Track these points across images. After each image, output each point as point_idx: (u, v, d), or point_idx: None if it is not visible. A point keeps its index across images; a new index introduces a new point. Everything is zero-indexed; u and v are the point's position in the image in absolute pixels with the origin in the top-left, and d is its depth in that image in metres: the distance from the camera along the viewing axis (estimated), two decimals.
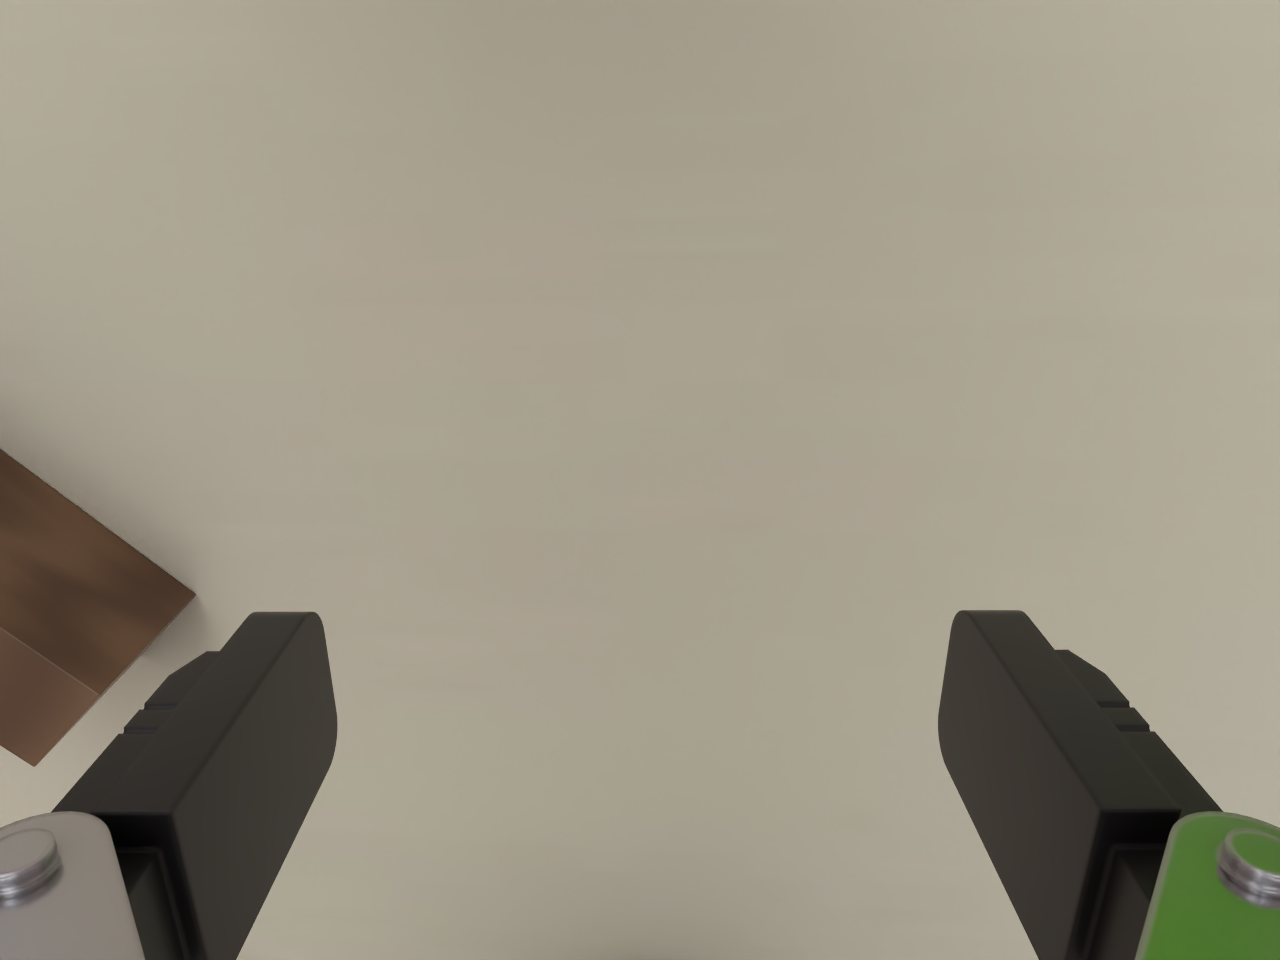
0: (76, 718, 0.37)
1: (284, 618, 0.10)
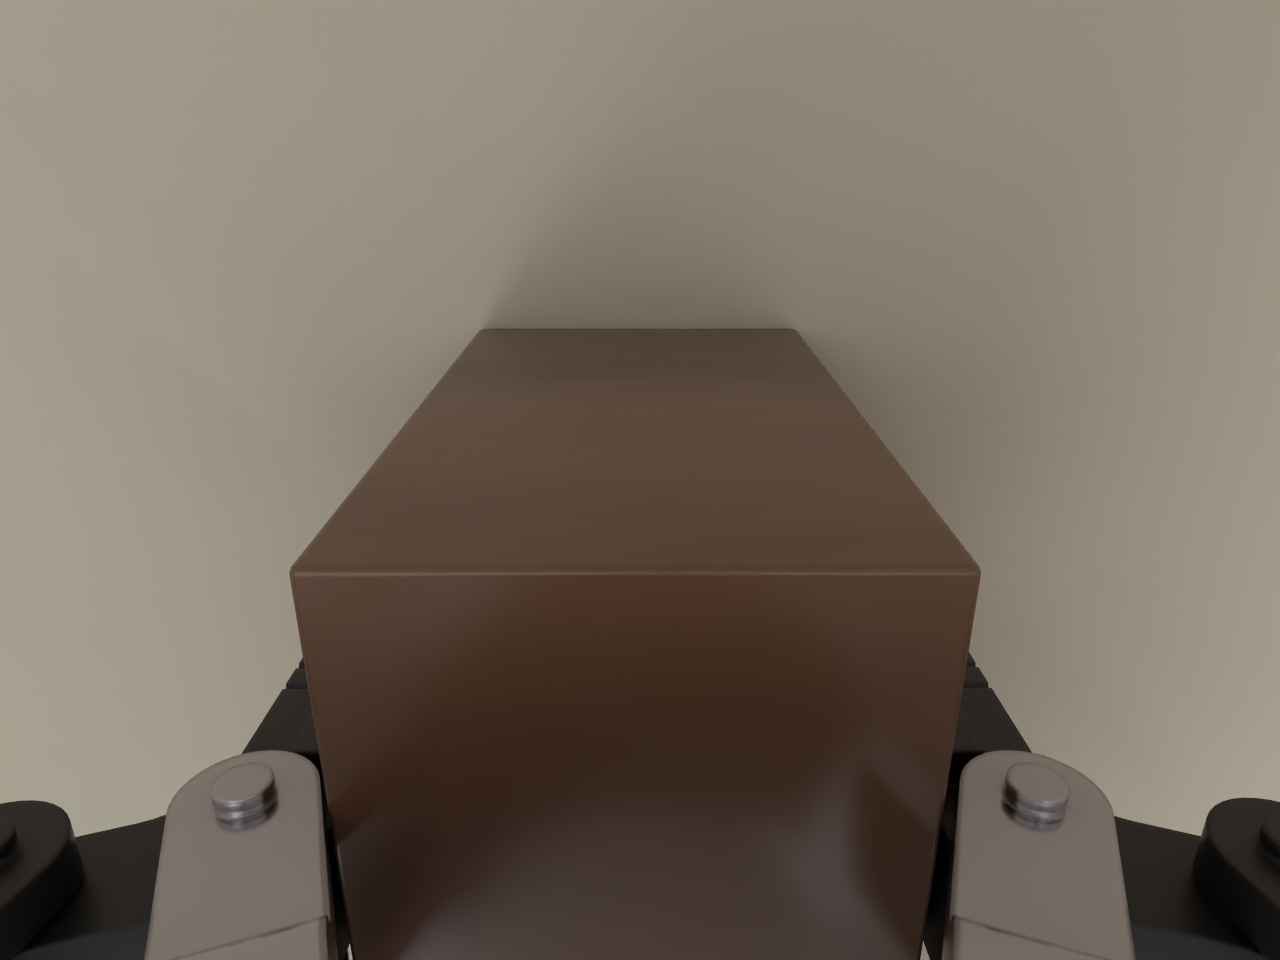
0: (514, 577, 0.07)
1: None
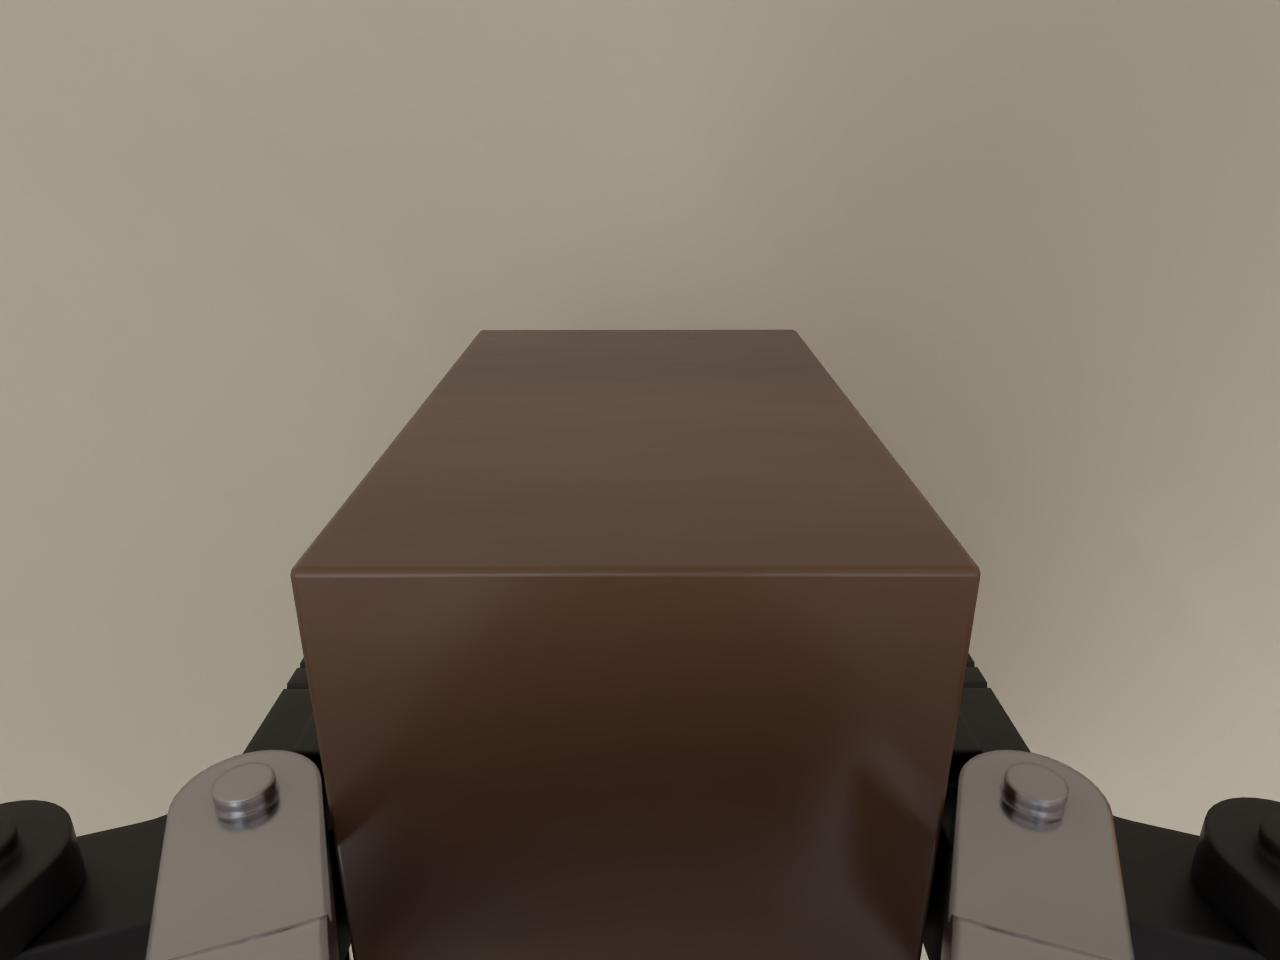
0: (515, 578, 0.07)
1: None
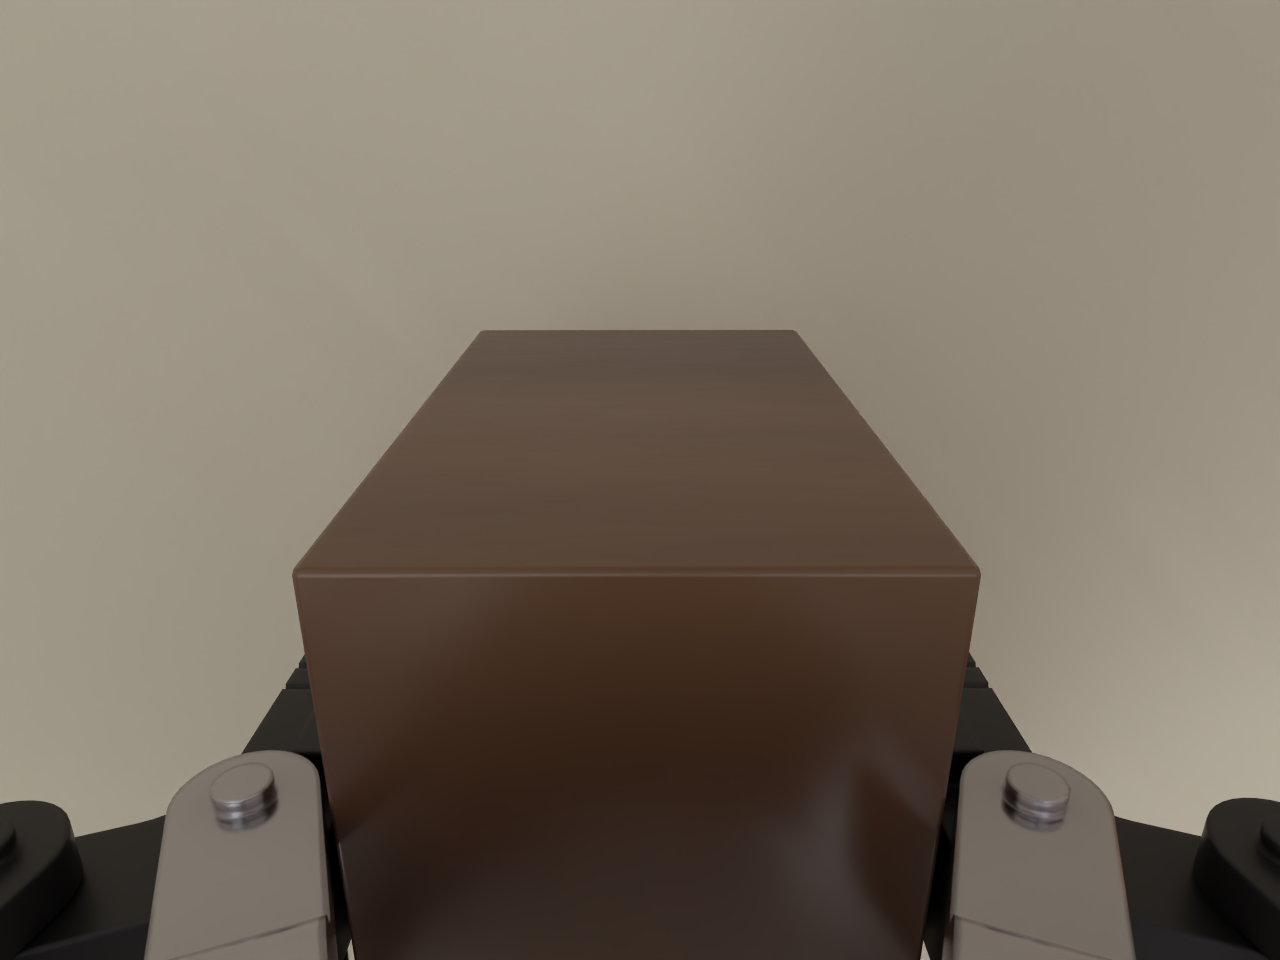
0: (516, 579, 0.07)
1: None
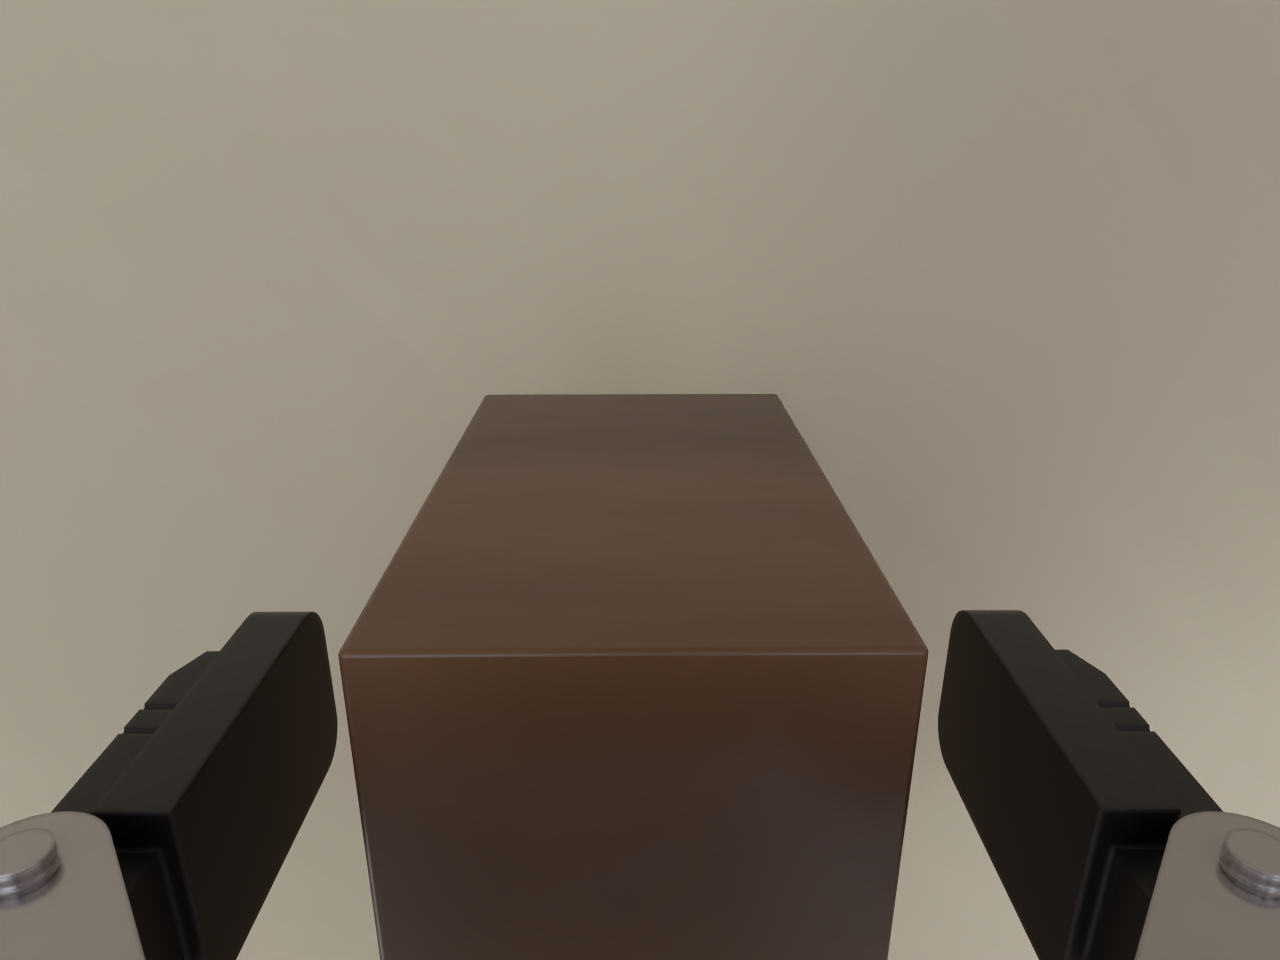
0: (531, 659, 0.08)
1: (284, 618, 0.10)
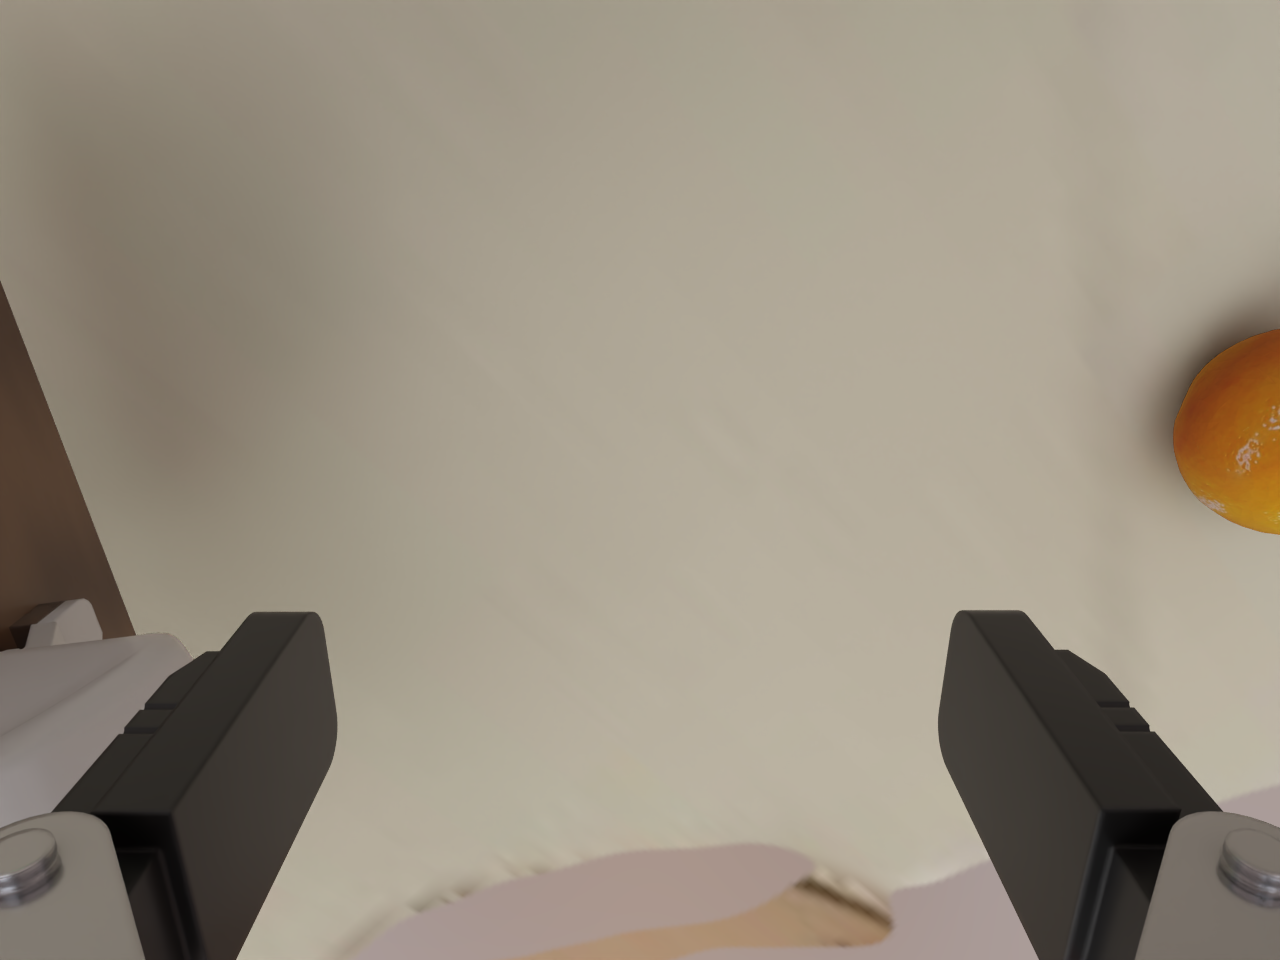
0: None
1: (284, 618, 0.10)
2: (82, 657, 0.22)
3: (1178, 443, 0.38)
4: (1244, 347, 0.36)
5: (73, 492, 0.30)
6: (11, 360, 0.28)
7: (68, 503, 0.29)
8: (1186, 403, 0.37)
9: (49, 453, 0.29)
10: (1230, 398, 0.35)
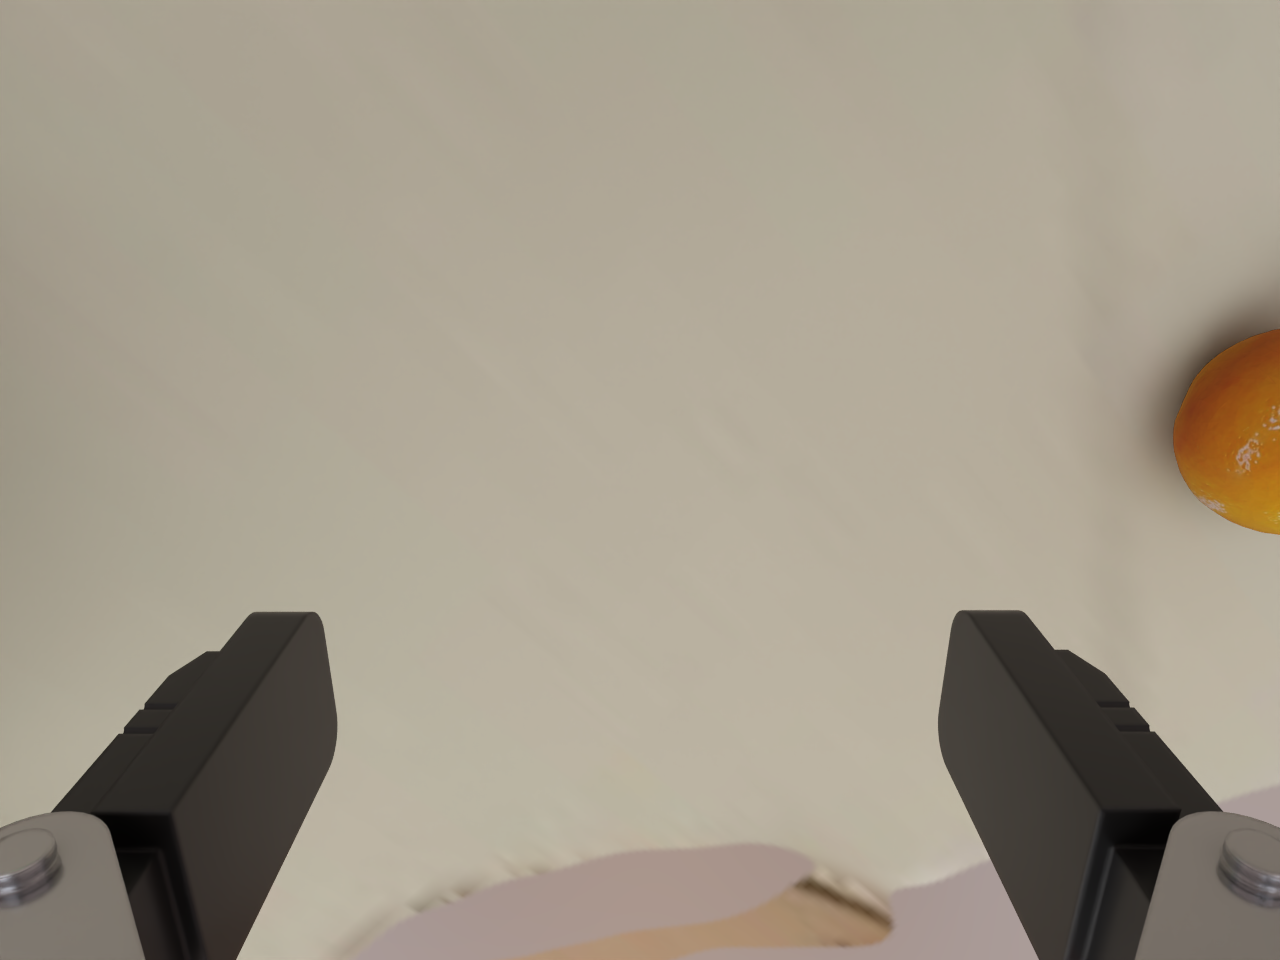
0: None
1: (284, 618, 0.10)
2: None
3: (1178, 443, 0.38)
4: (1244, 347, 0.36)
5: None
6: None
7: None
8: (1186, 403, 0.37)
9: None
10: (1230, 398, 0.35)
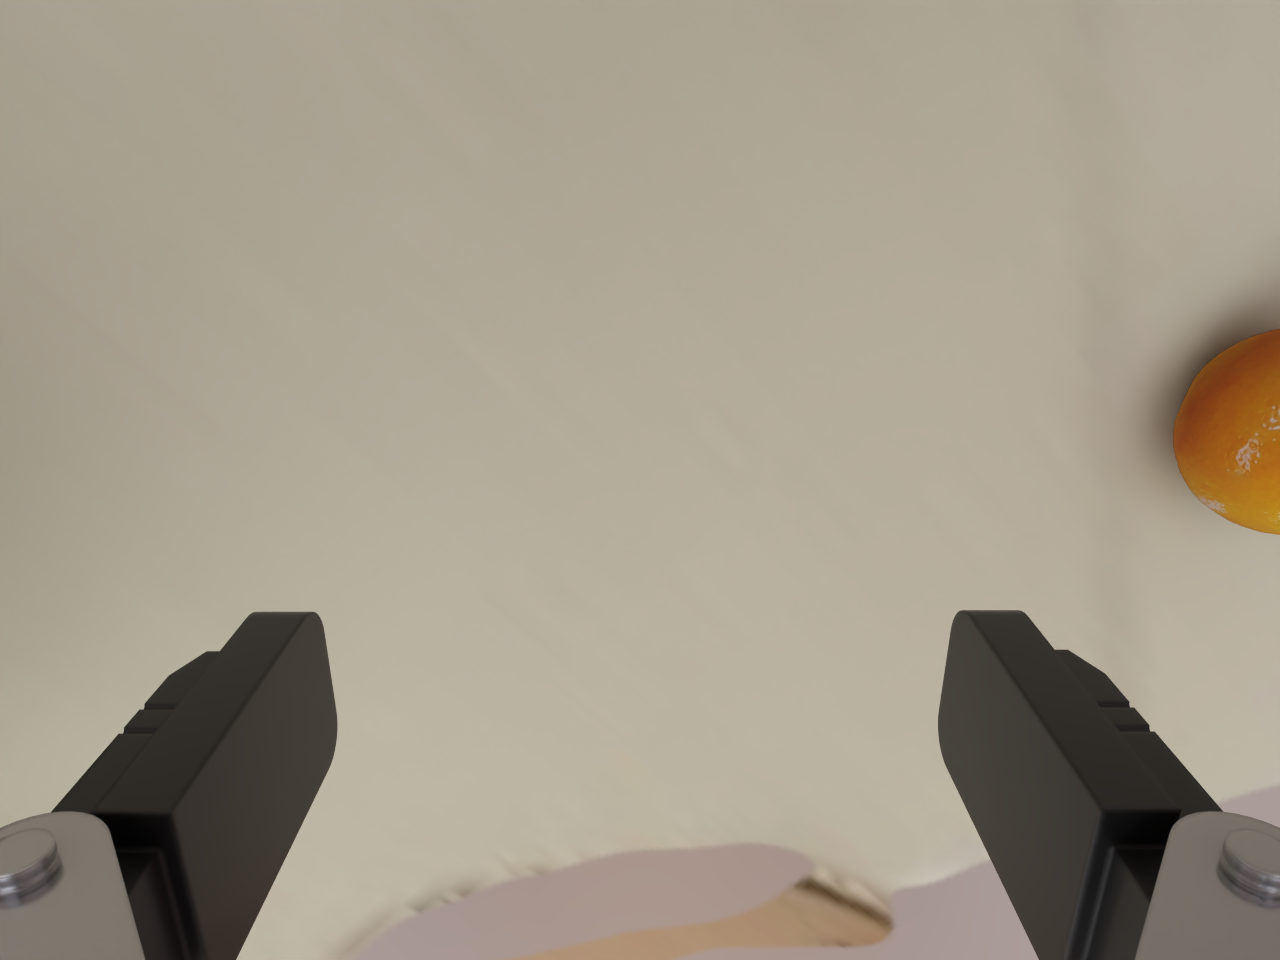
0: None
1: (284, 618, 0.10)
2: None
3: (1178, 443, 0.38)
4: (1244, 347, 0.36)
5: None
6: None
7: None
8: (1186, 403, 0.37)
9: None
10: (1230, 398, 0.35)
